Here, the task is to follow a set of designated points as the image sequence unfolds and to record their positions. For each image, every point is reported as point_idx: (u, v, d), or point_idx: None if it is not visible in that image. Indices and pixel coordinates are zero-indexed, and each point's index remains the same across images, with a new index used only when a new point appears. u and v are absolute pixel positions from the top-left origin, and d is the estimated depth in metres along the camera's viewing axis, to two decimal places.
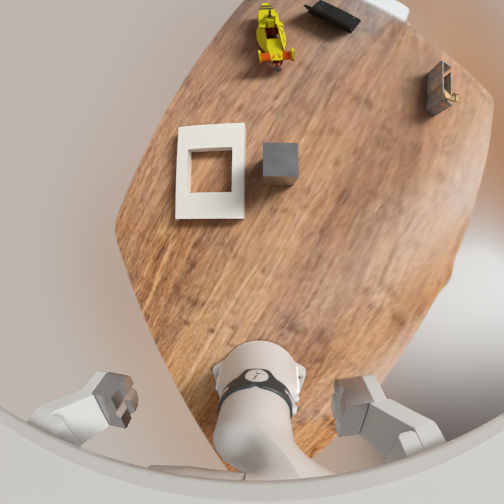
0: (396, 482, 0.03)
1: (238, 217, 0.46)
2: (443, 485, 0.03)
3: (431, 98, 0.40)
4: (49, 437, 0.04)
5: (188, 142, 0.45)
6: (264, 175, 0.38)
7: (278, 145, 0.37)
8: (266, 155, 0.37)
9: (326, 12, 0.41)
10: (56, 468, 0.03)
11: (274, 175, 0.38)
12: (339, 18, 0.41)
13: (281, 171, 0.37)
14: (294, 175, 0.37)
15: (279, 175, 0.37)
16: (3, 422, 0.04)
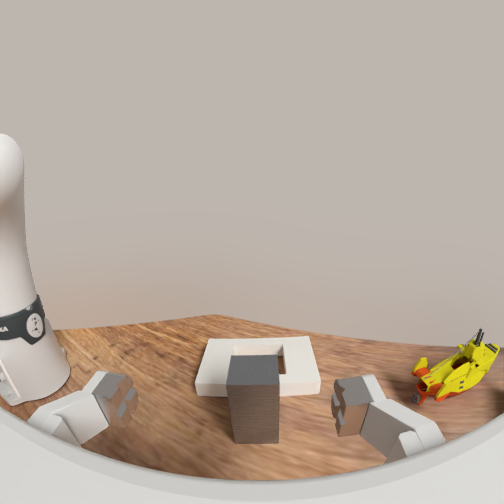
0: (396, 482, 0.03)
1: (197, 379, 0.34)
2: (443, 485, 0.03)
3: None
4: (49, 437, 0.04)
5: (290, 343, 0.43)
6: (232, 357, 0.28)
7: (274, 366, 0.26)
8: (259, 357, 0.28)
9: None
10: (56, 468, 0.03)
11: (230, 364, 0.27)
12: None
13: (235, 369, 0.26)
14: (228, 381, 0.24)
15: (230, 368, 0.26)
16: (3, 422, 0.04)
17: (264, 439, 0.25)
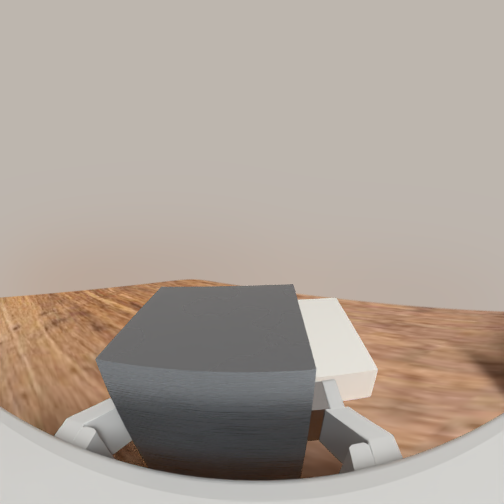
0: (396, 482, 0.03)
1: None
2: (443, 485, 0.03)
3: None
4: (49, 437, 0.04)
5: (307, 308, 0.25)
6: None
7: (286, 311, 0.08)
8: (239, 290, 0.10)
9: None
10: (56, 468, 0.03)
11: None
12: None
13: (153, 317, 0.08)
14: (110, 348, 0.06)
15: (140, 314, 0.08)
16: (3, 422, 0.04)
17: None
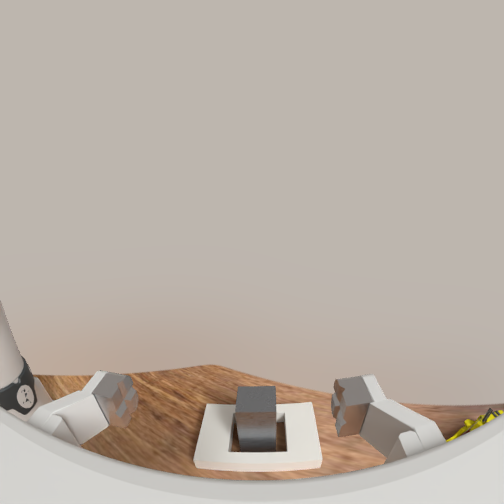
0: (396, 482, 0.03)
1: (195, 455, 0.28)
2: (443, 485, 0.03)
3: None
4: (49, 437, 0.04)
5: (292, 412, 0.37)
6: (238, 388, 0.34)
7: (272, 396, 0.31)
8: (261, 388, 0.33)
9: None
10: (56, 468, 0.03)
11: (238, 394, 0.32)
12: None
13: (242, 399, 0.31)
14: (236, 409, 0.29)
15: (237, 398, 0.31)
16: (3, 422, 0.04)
17: (264, 450, 0.31)
